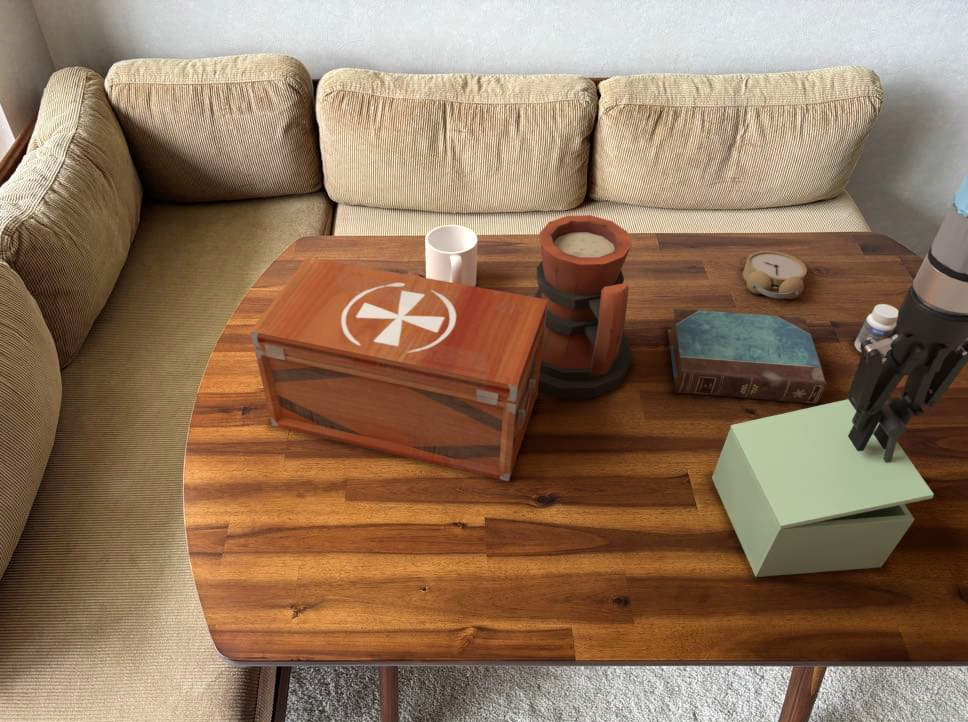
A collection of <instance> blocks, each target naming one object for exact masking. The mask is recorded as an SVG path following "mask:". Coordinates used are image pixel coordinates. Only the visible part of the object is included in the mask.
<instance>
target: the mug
mask: <svg viewBox="0 0 968 722" xmlns="http://www.w3.org/2000/svg"><path fill="white" fill-rule="evenodd" d="M424 239H425V240H424V243H425V244H424V245H425V248H424V250H425V278H429V279H434V280H440V281H446V282H451V283H457V284H462V285H468V286H474V287H476V285H477V269H478V268H477V266H478V265H477V263H478V236H477V234H476V232H474V231H473V230H472V229H471V228H468V227H466V226H462V225H459V224H445V225H439V226H437V227H434V228H433V229H431V230H429V231H428V232H427V233H426V235H425V237H424Z"/></svg>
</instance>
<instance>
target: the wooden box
mask: <svg viewBox="0 0 968 722" xmlns="http://www.w3.org/2000/svg"><path fill="white" fill-rule="evenodd" d="M547 303H548V300H547V299H542V298H536V297H535V296H530V295H523V294H518V293H513V292H507V291H502V290H496V289H490V288H485V287H478V286H475V287H474V286H468V285H462V284H457V283H451V282H446V281H440V280H434V279H429V278H426V277H422V276H418V275H417V276H416V275H411V274H405V273H400V272H394V271H389V270H384V269H383V270H382V269H378V268H377V269H376V268H371V267H366V266H360V265H354V264H351V263H350V264H349V263H344V262H337V261H332V260H328V259H327V260H326V259H321V258H316V257H310V256H307V257H306V258H305V259H304V261H302V263H301V264H300V266H299V267H298V269H297V270H296V271H295V272H294V274H293V275H292V276H291V278H289V280H288V281H287V283H286V284H285V285H284V286H283V288H282V289H281V290H280V292H279V293H278V295H276V297H275V298H274V300H273V301H272V303H270V305H269V306H268V308H266V310H265V311H264V313H263V314H262V315H261V316H260V318H259V319H258V320H257V322H256V323H255V324H254V325H253V327H252V328H251V330H250V336H251V340H252V345H253V347H254V353H255V358H256V361H257V366H258V369H259V374H260V379H261V383H262V387H263V392H264V395H265V401H266V404H267V409H268V414H269V417H270V422H271V426H273V427H277V428H280V429H285V430H290V431H294V432H298V433H301V434H302V433H303V434H306V435H311V436H315V437H320V438H324V439H327V440H332V441H336V442H340V443H344V444H349V445H352V446H357V447H362V448H366V449H370V450H373V451H379V452H383V453H387V454H391V455H395V456H399V457H403V458H408V459H412V460H417V461H420V462H425V463H428V464H429V463H430V464H432V465H433V464H434V465H438V466H441V467H446V468H450V469H455V470H459V471H463V472H466V473H471V474H476V475H478V476H484V477H488V478H493V479H497V480H500V481H504V482H505V481H506V482H510V479H511V477H512V473H513V470H514V467H515V464H516V461H517V459H518V455H519V452H520V449H521V447H522V443H523V440H524V437H525V433H526V430H527V427H528V424H529V421H530V418H531V415H532V412H533V410H534V406H535V403H536V400H537V397H538V393H539V392H538V384H539V375H540V366H541V357H542V348H543V339H544V330H545V323H546V312H547Z"/></svg>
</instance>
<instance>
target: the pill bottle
mask: <svg viewBox="0 0 968 722" xmlns="http://www.w3.org/2000/svg"><path fill="white" fill-rule="evenodd" d="M898 311H899V309H897V308H896V307H894V306H892V305H890V304H886V303H879V304H875V306H874V307H873V310H872V312H871V313H870V314H868V315H867V316H866V318H865V320H864V322H863V325H862V327H861V328H860V330H859V332H858V335H857V336H856V339H855V341H854V347H855V349H856V350H857V351H858V352H860V353H861V346H860V345H861V343H862V342H863V341H865V340H871V342H872V343H876V342H879V341H881V340H884V339H886V337H887V334H888V333H889V332H890V331H891V330H892V329H893V328H894V327H895V326H896V325H897V320H898Z"/></svg>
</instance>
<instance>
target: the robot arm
mask: <svg viewBox="0 0 968 722" xmlns="http://www.w3.org/2000/svg"><path fill="white" fill-rule="evenodd" d="M963 179H964V180H963V181H962V183H961V185H960V186H959V187H958V190H957V191H955V193H954V194H953V196H952V197H953V198H952V200H951V204H950V205H949V206H950V207H949V209H948V211H947V213H946V215H945V217H944V219H943V222H942V223H941V225H940V227H939V229H938V232H937V233H936V235H935V237H934V239H933V242H932V244H931V245H930V247H929V249H928V251H927V253H926V255H925V257H924V259H923V260H922V263H921V265H920V267H919V268H918V271H917V273H916V275H915V277H914V279H913V281H912V282H913V283H912V285H911V286H910V287H909V288H908V291H907V292H906V294H905V296H904V298H903V300H902V303H901V304H900V306H899V308H898V319H897V321H896V326H895V327H894V328H893V329H892V330H891V331H890V332H889V333H888V334H887V337H886V339H884V340H881V341H879V342H876V343H872V342H871V340H865V341H863V342H862V343H861V345H860V346H861V352H860V353H861V356H860V358H859V362H858V365H857V367H856V370H855V373H854V376H853V379H852V381H851V384H850V387H849V390H848V393H847V396H846V398H847V399H848V400H849V401H850V403H851V404H852V406H853V407H854V409H855V410H856V413H855V415H854V417H853V419H852V423H853V424H854V425H853V427H852V429H851V431H850V433H849V435H848V437H849V439H850V440H851V442H852V444H853V445H854V447H855V448H856V450H857V451H863V450H864V449H865V447H866V445H867V443H868V441H869V439H870V438H871V436H872V434H873V432H874V430H875V428H876V427H877V425H878V423H879V421H880V419H881V418H882V416H883V415H882V414H881V413H880V411H879V410H880V409H881V407H882V406H883V404H884V403H885V402H886V400H887V401H888V399H889V398H890V396H891V395H892V394H893V392H894V391H895V389H896V388H897V387H898V385H899V384H900V383H901V381H902V380H903V378H904V377H905V376H907V378H906V380H905V384H904V386H903V388H902V391H901V394H900V398H901V399H900V398H899V397H897V398H892V399H891V401H890V402H889V404H890V405H891V407H892V408H893V409H894V411H895V412H896V414H897V415H898V416H899V418H900V419H901V421H902V422H903V423H904V425H905V426H907V425H908V424H909V422H910V421H911V418H912V417H913V416H915V417H919V416H921V415H923V414H924V413H925V411H924V410H923V408H922V407H923V406H927V407H929V408H931V407H934V406H936V405H937V404H938V402H940V400H941V398H943V396H944V395H945V393H946V392H947V390H948V389H949V387H950V386H951V385H952V384H953V382H954V381H955V380H956V379H957V377H958V376H959V374H960V373H961V372H962V370H963V369H964V367H965V366H966V365H967V363H968V173H967V174H966V176H965V177H964V178H963ZM874 436H875V437H876V439H877V440H878V442H879V443H880V445H881V446H882V448H883V449H886V447H887V443H888V439H889V436H888V435H887V433H886V432H885V431H884V429H883V428H882V426H881V425H880V423H879V425H878V427H877V428H876V430H875V432H874Z"/></svg>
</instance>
